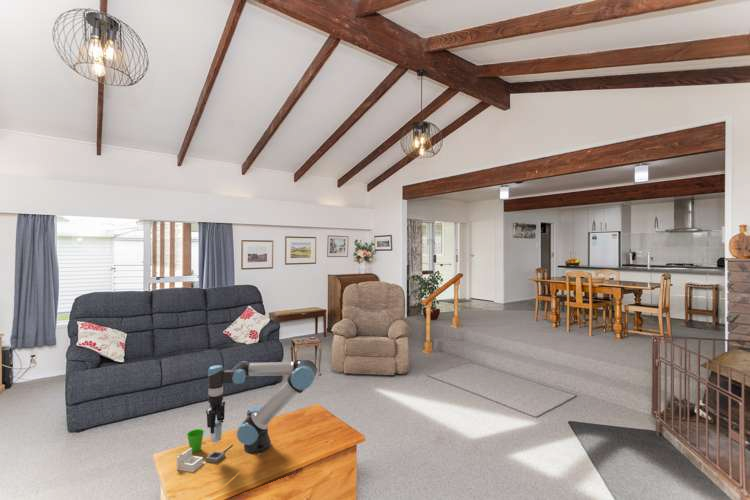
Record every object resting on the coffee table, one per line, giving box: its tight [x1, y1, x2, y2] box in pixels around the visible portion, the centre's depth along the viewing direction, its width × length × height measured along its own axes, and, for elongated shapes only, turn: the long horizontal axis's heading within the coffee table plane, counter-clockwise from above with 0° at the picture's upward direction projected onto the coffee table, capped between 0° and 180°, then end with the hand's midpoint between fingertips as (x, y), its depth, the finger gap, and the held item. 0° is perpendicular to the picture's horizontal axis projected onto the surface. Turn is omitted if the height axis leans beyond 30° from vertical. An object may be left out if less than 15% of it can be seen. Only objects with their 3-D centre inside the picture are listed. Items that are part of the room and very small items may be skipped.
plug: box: [210, 419, 222, 443], centre depth 210 cm, size 4×4×10 cm
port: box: [176, 447, 206, 473], centre depth 204 cm, size 10×10×8 cm
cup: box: [186, 428, 205, 454], centre depth 219 cm, size 9×9×11 cm
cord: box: [222, 444, 234, 454], centre depth 220 cm, size 1×12×1 cm, turn 165°
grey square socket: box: [205, 450, 226, 464], centre depth 210 cm, size 7×7×3 cm
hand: (216, 436), depth 210 cm, fingers closed on plug, 4 cm apart
